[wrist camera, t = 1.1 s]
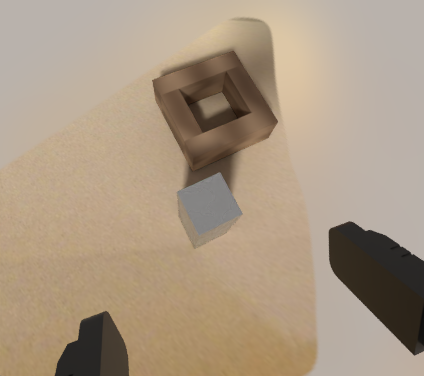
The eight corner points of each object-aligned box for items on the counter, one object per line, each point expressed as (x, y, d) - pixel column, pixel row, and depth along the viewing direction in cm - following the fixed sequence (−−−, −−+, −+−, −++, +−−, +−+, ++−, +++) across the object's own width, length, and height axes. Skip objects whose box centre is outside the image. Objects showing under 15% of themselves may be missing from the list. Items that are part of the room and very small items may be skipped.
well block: (192, 171, 40) (193, 158, 35) (155, 100, 42) (152, 80, 38) (268, 137, 42) (277, 121, 38) (228, 72, 45) (233, 50, 41)
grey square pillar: (194, 248, 37) (198, 235, 26) (179, 216, 38) (176, 191, 27) (226, 232, 38) (242, 213, 27) (210, 201, 39) (220, 172, 28)
